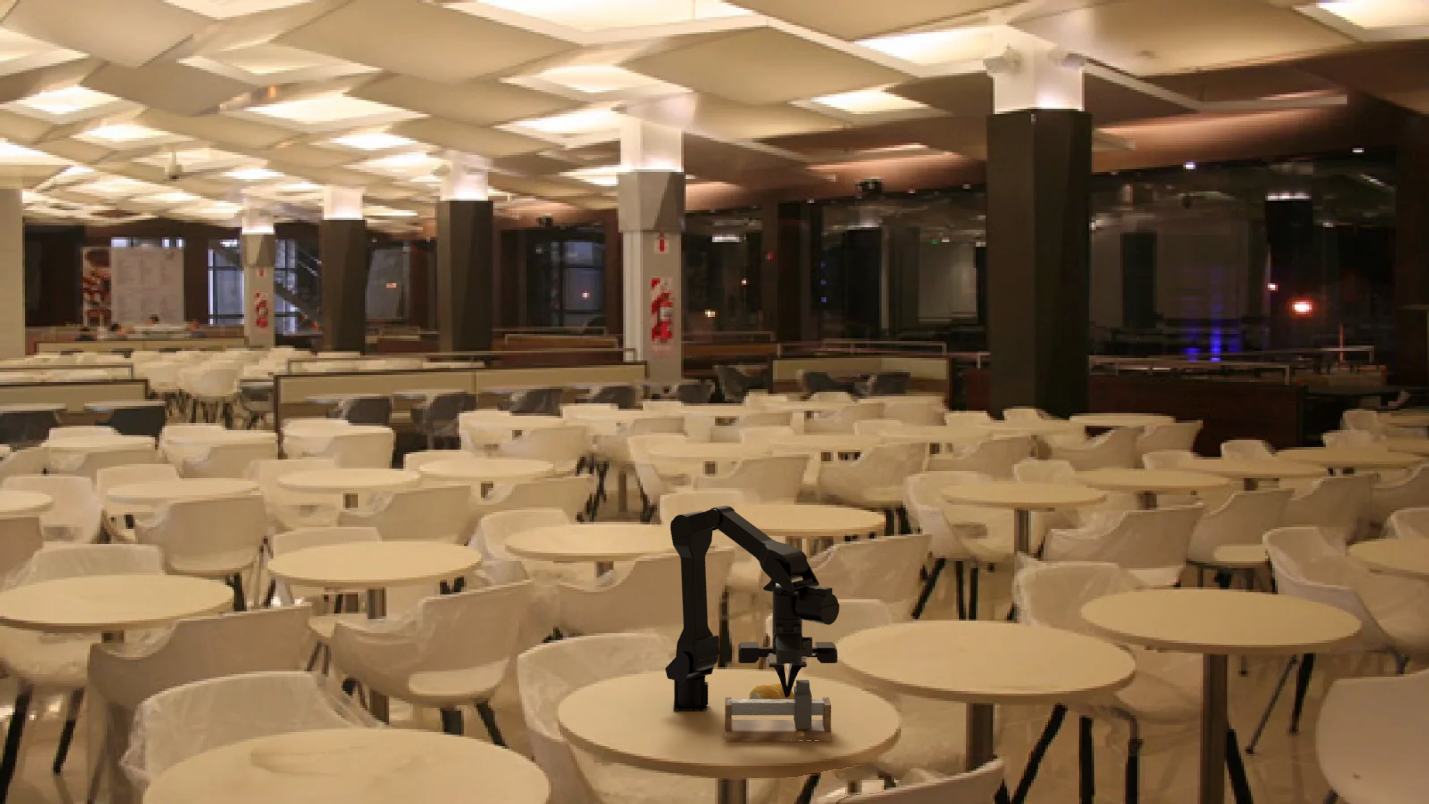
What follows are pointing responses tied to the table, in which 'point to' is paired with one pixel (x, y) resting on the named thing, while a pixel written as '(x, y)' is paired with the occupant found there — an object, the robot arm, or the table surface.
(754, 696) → the bread roll
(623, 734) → the table surface
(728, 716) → the stand
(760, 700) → the brushed metal beam
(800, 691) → the grey stepped block
